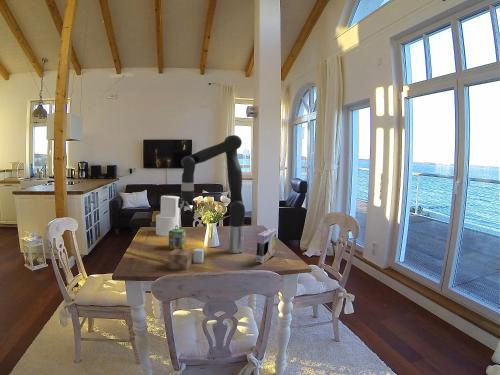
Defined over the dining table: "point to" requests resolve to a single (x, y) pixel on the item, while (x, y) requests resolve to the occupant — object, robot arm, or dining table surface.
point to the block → (198, 255)
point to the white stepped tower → (167, 215)
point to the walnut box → (180, 259)
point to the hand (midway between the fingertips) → (187, 216)
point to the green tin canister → (177, 238)
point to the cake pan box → (266, 245)
